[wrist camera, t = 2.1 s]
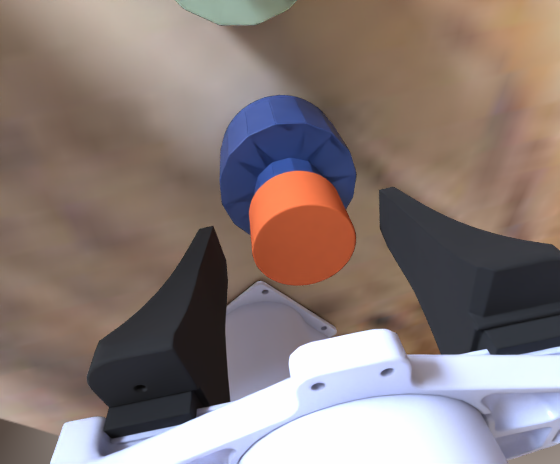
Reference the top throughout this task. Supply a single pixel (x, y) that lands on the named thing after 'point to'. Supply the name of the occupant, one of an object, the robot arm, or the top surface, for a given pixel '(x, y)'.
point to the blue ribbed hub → (280, 151)
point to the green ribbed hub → (236, 10)
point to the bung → (300, 229)
